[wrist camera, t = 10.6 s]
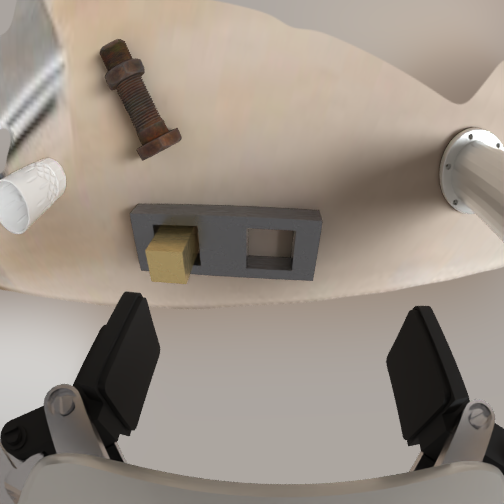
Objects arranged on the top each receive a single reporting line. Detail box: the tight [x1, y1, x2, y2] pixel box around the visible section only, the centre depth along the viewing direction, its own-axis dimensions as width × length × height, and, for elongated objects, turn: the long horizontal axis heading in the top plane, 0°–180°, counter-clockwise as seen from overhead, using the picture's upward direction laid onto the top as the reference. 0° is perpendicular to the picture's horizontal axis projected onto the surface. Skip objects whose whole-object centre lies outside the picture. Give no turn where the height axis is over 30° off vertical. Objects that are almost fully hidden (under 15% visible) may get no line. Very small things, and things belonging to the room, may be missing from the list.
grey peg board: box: [130, 204, 322, 281], centre depth 40 cm, size 24×9×3 cm, turn 89°
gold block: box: [145, 225, 200, 284], centre depth 38 cm, size 4×4×8 cm
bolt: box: [100, 39, 181, 161], centre depth 29 cm, size 6×5×15 cm
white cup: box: [0, 158, 66, 234], centre depth 33 cm, size 8×8×10 cm
